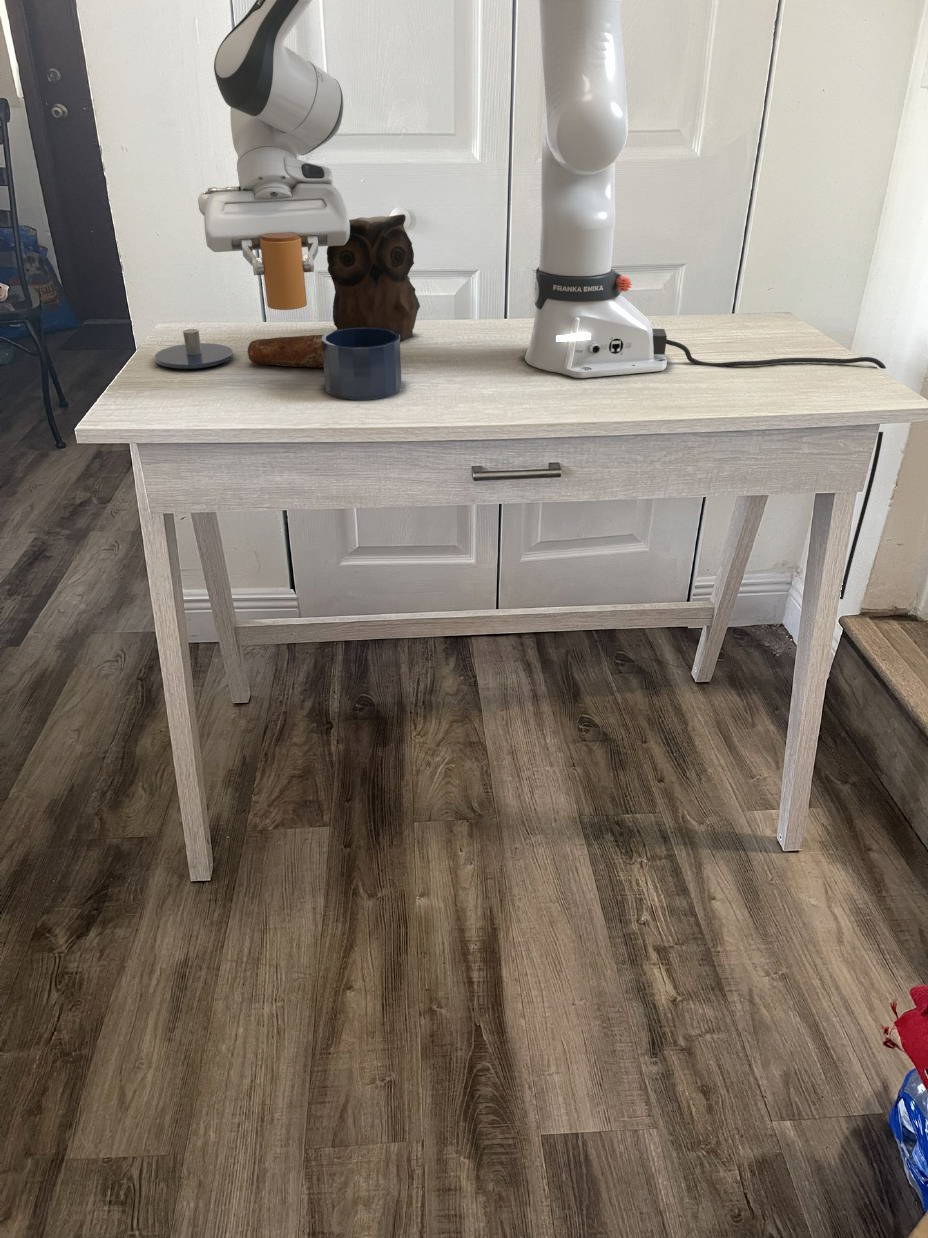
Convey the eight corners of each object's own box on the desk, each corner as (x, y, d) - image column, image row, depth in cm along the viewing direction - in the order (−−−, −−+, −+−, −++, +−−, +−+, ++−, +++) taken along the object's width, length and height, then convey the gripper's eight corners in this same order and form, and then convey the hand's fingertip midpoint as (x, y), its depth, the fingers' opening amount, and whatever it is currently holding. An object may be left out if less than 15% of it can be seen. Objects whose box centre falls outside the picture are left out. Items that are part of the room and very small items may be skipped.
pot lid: (238, 349, 158) (234, 319, 155) (228, 371, 147) (224, 340, 145) (163, 350, 157) (158, 321, 154) (149, 373, 146) (143, 342, 144)
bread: (361, 374, 146) (359, 338, 143) (244, 368, 148) (239, 332, 146) (371, 362, 151) (369, 327, 148) (258, 356, 154) (254, 322, 151)
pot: (400, 375, 146) (398, 326, 142) (402, 399, 136) (400, 347, 132) (327, 377, 145) (323, 327, 141) (324, 401, 135) (320, 348, 131)
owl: (423, 335, 165) (420, 212, 154) (380, 353, 156) (375, 223, 145) (364, 325, 170) (358, 206, 160) (320, 342, 161) (310, 216, 151)
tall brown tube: (308, 299, 138) (301, 230, 133) (305, 309, 133) (299, 237, 128) (269, 300, 137) (261, 231, 132) (265, 310, 133) (257, 238, 128)
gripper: (194, 173, 130) (206, 261, 127) (341, 167, 134) (357, 253, 131) (198, 203, 136) (210, 288, 133) (340, 197, 140) (354, 279, 137)
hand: (284, 271), depth 132 cm, fingers closed on tall brown tube, 5 cm apart
